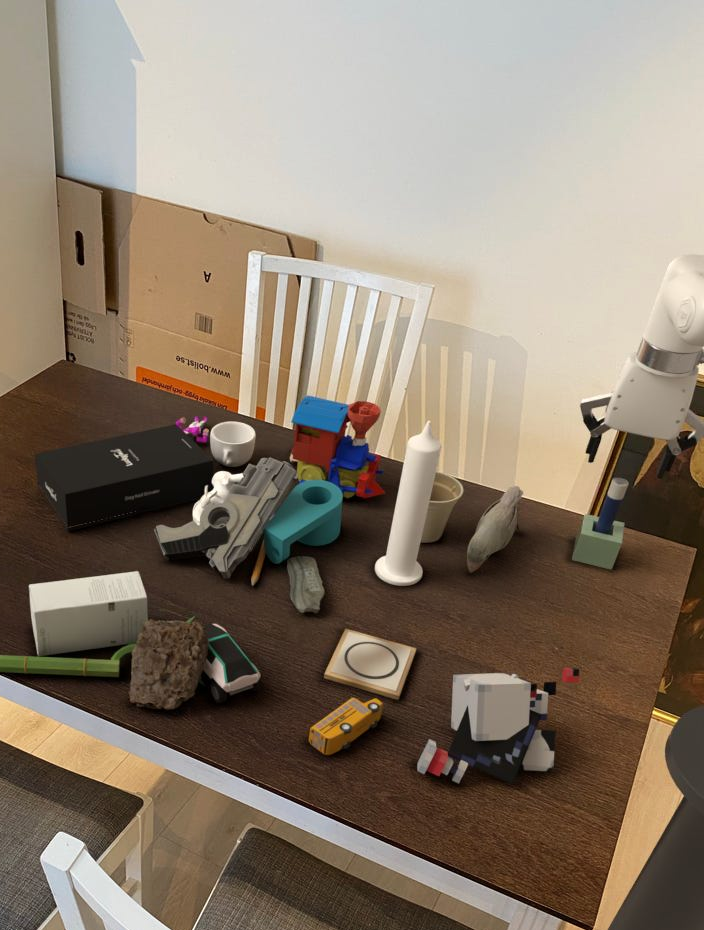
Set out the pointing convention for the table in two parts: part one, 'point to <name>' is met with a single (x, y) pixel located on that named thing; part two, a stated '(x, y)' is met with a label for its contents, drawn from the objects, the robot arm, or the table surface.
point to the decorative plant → (68, 664)
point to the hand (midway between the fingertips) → (624, 466)
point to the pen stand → (597, 543)
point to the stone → (305, 584)
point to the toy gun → (232, 519)
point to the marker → (611, 505)
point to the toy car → (228, 665)
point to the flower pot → (440, 505)
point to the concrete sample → (167, 663)
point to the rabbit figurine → (216, 494)
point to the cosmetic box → (87, 612)
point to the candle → (410, 511)
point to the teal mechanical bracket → (304, 519)
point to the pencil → (259, 563)
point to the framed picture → (370, 664)
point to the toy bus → (345, 725)
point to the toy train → (336, 445)
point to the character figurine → (195, 429)
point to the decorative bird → (494, 528)
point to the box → (123, 475)
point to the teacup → (232, 443)
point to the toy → (496, 727)
